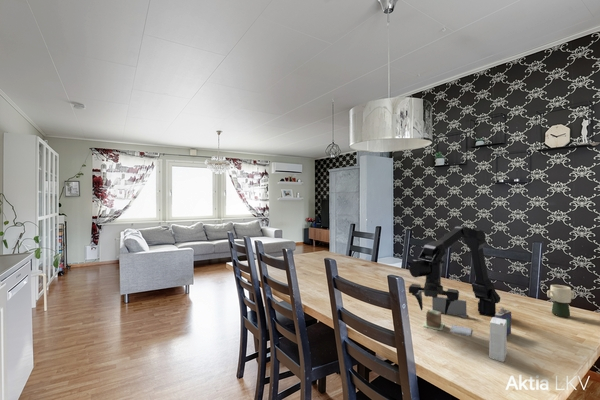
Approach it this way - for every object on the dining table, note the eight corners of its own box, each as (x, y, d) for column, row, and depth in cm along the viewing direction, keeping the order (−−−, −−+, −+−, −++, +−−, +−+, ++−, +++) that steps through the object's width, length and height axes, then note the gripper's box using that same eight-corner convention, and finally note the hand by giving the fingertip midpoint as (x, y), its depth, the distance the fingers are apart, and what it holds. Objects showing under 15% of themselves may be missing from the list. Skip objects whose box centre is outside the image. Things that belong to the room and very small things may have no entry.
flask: (500, 339, 112) (500, 310, 112) (492, 336, 114) (492, 308, 114) (512, 334, 117) (512, 306, 117) (504, 331, 119) (504, 304, 119)
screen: (466, 314, 136) (466, 299, 136) (466, 318, 132) (466, 302, 132) (433, 309, 144) (433, 294, 144) (431, 312, 139) (431, 297, 140)
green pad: (444, 324, 126) (444, 323, 126) (442, 330, 120) (442, 329, 120) (426, 320, 130) (426, 320, 130) (423, 326, 124) (423, 325, 124)
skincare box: (491, 351, 103) (491, 316, 103) (507, 355, 100) (507, 319, 100) (488, 358, 99) (488, 321, 99) (505, 363, 96) (504, 325, 96)
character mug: (568, 313, 137) (567, 284, 137) (580, 319, 130) (580, 289, 130) (542, 312, 139) (541, 284, 139) (553, 318, 132) (552, 288, 132)
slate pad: (471, 329, 121) (471, 328, 121) (470, 336, 115) (470, 335, 115) (452, 325, 124) (452, 324, 124) (450, 332, 118) (450, 331, 118)
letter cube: (441, 323, 126) (441, 311, 126) (439, 328, 121) (439, 315, 121) (428, 321, 128) (428, 309, 128) (426, 325, 124) (426, 312, 124)
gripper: (405, 276, 123) (405, 314, 123) (456, 282, 113) (457, 323, 113) (411, 270, 132) (411, 305, 132) (458, 275, 122) (459, 314, 122)
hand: (433, 312), depth 125 cm, fingers open, 9 cm apart
